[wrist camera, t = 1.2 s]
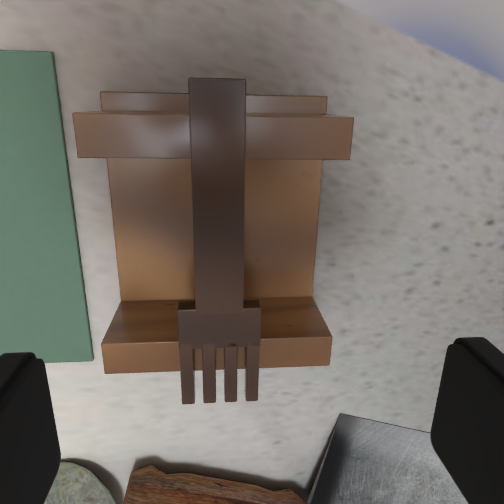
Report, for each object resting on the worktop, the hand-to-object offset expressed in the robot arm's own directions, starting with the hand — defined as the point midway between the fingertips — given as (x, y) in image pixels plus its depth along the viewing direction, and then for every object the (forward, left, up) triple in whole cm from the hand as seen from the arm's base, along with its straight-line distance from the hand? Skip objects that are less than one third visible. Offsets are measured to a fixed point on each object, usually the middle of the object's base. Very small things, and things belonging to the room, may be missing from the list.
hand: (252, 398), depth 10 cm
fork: (+1, -1, -12) cm, 12 cm away
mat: (+1, -16, -18) cm, 24 cm away
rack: (+1, -1, -18) cm, 18 cm away
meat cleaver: (+23, +9, -19) cm, 31 cm away
